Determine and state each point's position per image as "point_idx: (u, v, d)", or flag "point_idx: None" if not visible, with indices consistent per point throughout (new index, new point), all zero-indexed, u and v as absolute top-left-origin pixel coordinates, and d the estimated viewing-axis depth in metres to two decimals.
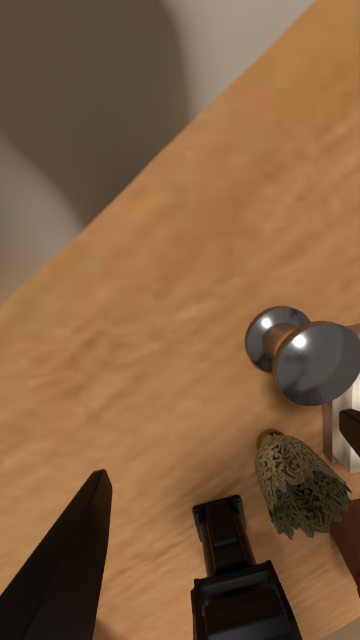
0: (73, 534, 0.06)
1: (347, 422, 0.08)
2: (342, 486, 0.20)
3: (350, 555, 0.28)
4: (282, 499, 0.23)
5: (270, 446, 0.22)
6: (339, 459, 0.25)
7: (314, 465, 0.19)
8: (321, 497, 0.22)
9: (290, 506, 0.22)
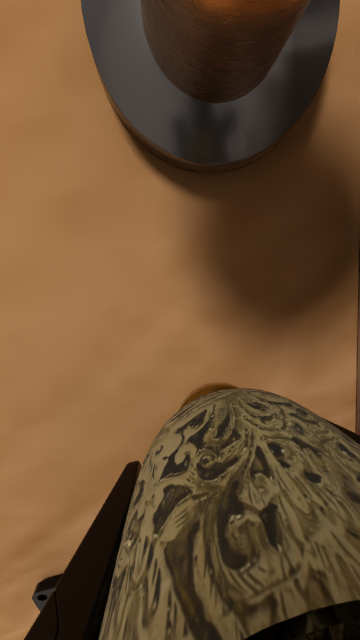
0: (120, 522, 0.06)
1: None
2: None
3: None
4: None
5: (180, 420, 0.06)
6: None
7: None
8: None
9: None
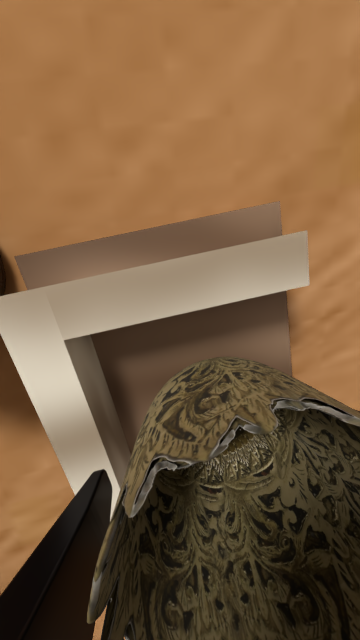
0: (73, 534, 0.06)
1: None
2: None
3: None
4: (216, 542, 0.08)
5: (175, 376, 0.08)
6: None
7: (291, 394, 0.04)
8: (334, 537, 0.07)
9: (236, 567, 0.07)
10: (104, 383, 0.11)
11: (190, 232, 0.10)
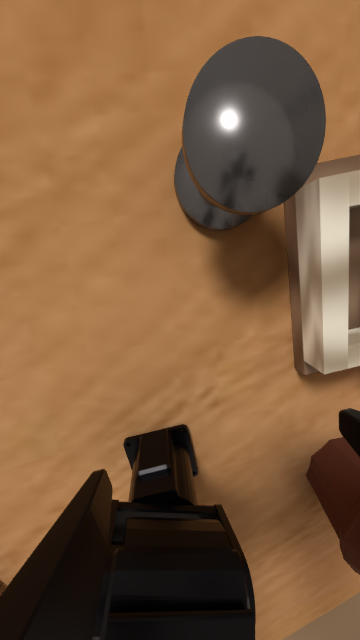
0: (73, 534, 0.06)
1: (347, 422, 0.08)
2: None
3: (331, 502, 0.21)
4: None
5: None
6: (311, 362, 0.18)
7: None
8: None
9: None
10: None
11: None
